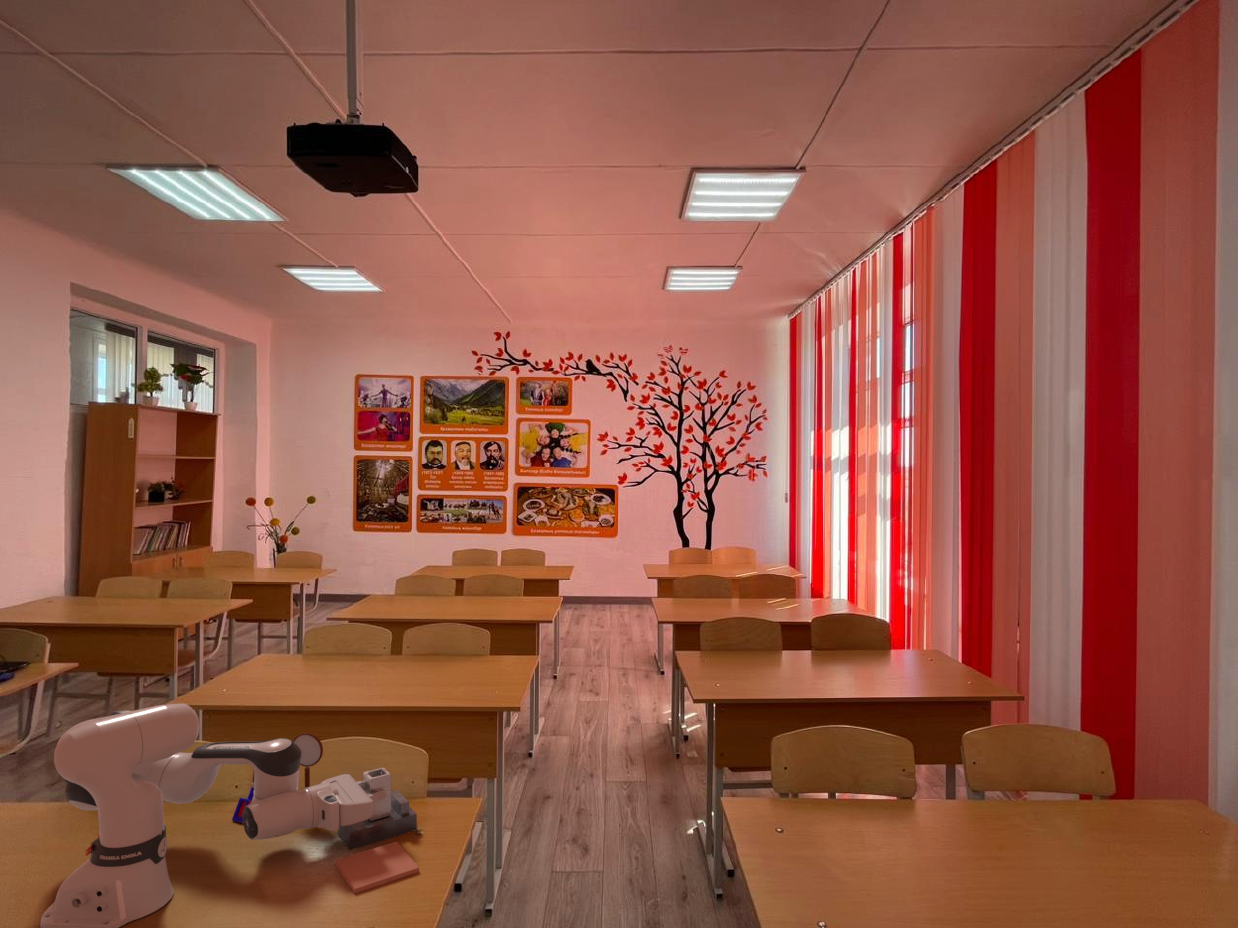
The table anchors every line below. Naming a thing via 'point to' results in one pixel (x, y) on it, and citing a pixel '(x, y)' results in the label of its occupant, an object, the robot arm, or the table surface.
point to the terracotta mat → (376, 867)
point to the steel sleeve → (377, 782)
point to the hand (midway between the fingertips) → (380, 788)
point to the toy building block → (242, 806)
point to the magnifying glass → (309, 752)
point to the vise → (381, 825)
